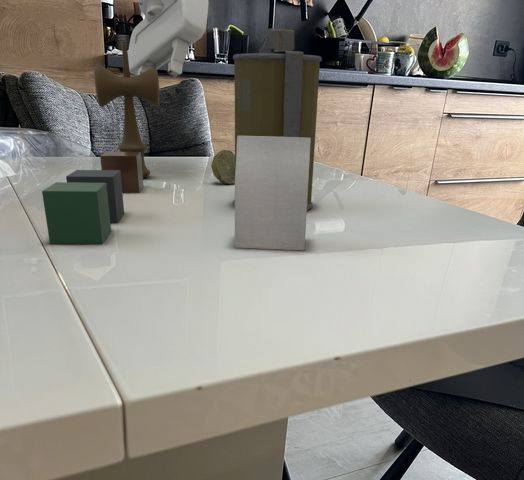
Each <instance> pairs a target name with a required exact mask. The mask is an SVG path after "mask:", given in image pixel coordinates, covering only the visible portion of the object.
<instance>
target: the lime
mask: <svg viewBox="0 0 524 480" xmlns="http://www.w3.org/2000/svg"><path fill="white" fill-rule="evenodd" d="M210 166H211V171H212V174H213V176H214V177H215V179H216V180H218V181H219V182H220V183H222V184H224V185H232V184H233V185H234V184H235V152H234V153H233V151H231V150H227V149H222V150H220V151H218V152H217V153H216V154H215V155H214V156H213V158H212V161H211V165H210Z"/></svg>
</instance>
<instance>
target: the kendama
mask: <svg viewBox="0 0 524 480" xmlns="http://www.w3.org/2000/svg"><path fill="white" fill-rule="evenodd" d="M121 50H122V51H121V53H122V73H123V74H122V75H123V76H122V75H117V74H115V73H113V72H111V71H110V70H109V69H107V68H105V67H104V66H103V65H101V64H99V63H96V64H95V65H94V71H93V73H94V89H95V94H96V95H95V96H96V100H97V104H98V106H99V107H100V108H103V107H105V106H107V105H108V104H110V103H111V102H112V101H114V100H115V99H117V98H121V97H123V99H124V100H123V103H124V104H123V105H124V106H123V107H124V108H123V109H124V110H123V111H124V112H123V114H124V115H123V133H122V140H121V143H120V144H119V145H118V146H117V149H118V150H119V152H141V159H142V173H143V178H147V177H149V176H150V175H151V170H150V169H148V168H147V166H146V162H145V152H146V150H147V149H148V146H147V145H146V144H145V143H144V142H143V140H142V138H141V134H140V130H139V125H138V119H137V115H136V109H135V103H134V97H135V98H138V99H142V100H143V101H145V102H146V103H149V105H152V106H154V107H158V106H159V104H160V79H159V74H158V69H157V70H156V68H155V67H152V68H150V69H148V70H147V71H145V72H143V73H142V74H140V75H137V76H136V75H134V76H131V73H130V70H129V61H128V45H127V40H126V39H122V41H121Z"/></svg>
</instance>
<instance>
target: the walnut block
mask: <svg viewBox="0 0 524 480" xmlns="http://www.w3.org/2000/svg"><path fill="white" fill-rule="evenodd" d="M99 158H100V159H99V160H100V170H120V171H121V182H122V193H123V194H125V193H127V194H129V193H132V194H140V193H141V191H142V190H143V188H144V177H143V173H142V159H141V152H121V151H105V152H104V153H102V154H101V155H99Z"/></svg>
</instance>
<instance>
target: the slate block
mask: <svg viewBox="0 0 524 480" xmlns="http://www.w3.org/2000/svg"><path fill="white" fill-rule="evenodd" d="M65 176H66V177H65V180H66V182H72V183H106V185H107V195H108V205H109V215H110V224H118V223H119V221H120V220H121V219H122V217H123V216H124V215H125V207H124V205H125V204H124V196H123V195H124V193H122V182H121V171H120V170H102V169H75V170H74V171H72V172H71V173H69V174H67V175H65Z"/></svg>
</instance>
